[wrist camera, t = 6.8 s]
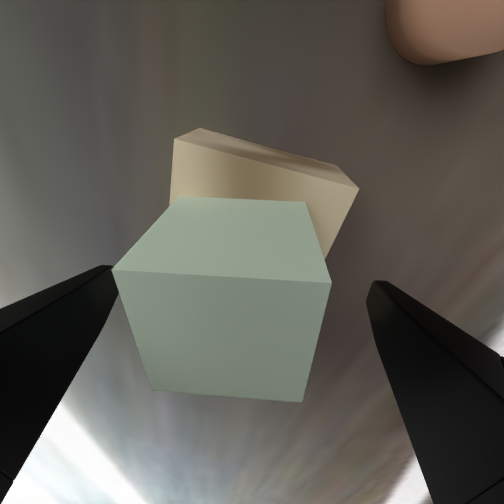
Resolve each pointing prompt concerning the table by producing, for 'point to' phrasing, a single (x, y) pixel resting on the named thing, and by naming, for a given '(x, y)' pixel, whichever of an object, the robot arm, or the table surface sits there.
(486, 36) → the pink dome cap
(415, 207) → the table surface
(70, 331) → the robot arm
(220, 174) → the oak block
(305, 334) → the sage cube
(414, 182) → the table surface
